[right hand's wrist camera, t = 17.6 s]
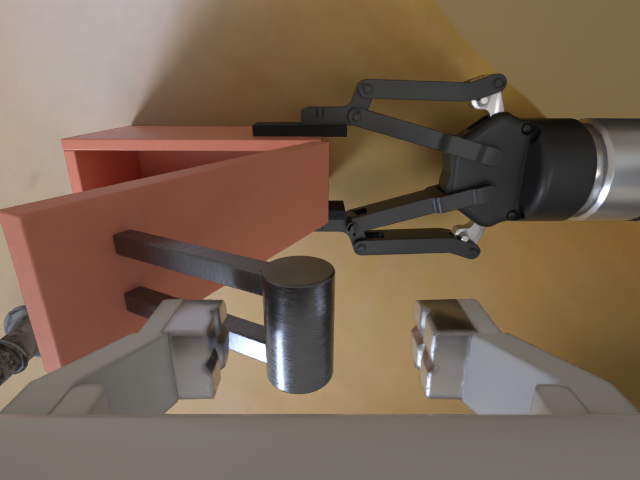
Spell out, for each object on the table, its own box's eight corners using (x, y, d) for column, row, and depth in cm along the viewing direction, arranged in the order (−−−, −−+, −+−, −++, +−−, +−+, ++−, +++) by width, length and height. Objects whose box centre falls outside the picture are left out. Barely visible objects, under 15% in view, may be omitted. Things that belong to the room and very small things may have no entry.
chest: (139, 185, 37) (78, 217, 27) (129, 125, 35) (60, 138, 25) (320, 185, 37) (321, 218, 27) (321, 126, 35) (321, 140, 26)
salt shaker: (30, 281, 40) (-83, 356, 29) (89, 296, 41) (1, 375, 29) (28, 329, 42) (-78, 415, 31) (84, 342, 43) (0, 432, 31)
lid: (44, 371, 13) (273, 497, 9) (-5, 209, 11) (261, 280, 7) (314, 220, 27) (443, 242, 23) (313, 140, 25) (455, 150, 21)
